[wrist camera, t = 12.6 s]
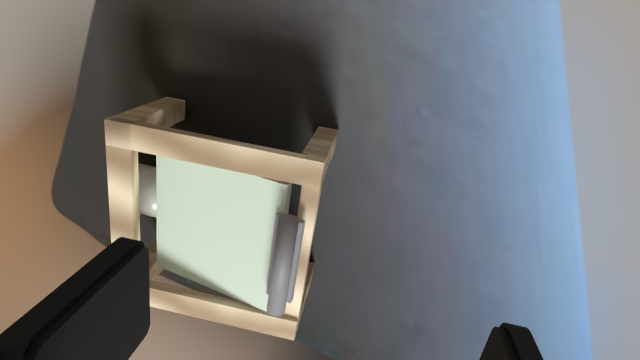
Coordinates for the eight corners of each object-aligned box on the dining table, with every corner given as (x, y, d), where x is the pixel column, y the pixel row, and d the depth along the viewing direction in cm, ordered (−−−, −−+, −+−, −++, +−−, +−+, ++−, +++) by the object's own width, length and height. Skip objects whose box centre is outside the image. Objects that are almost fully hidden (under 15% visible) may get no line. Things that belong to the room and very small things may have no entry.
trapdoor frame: (166, 96, 41) (104, 118, 32) (338, 129, 40) (324, 162, 31) (165, 244, 48) (114, 297, 39) (312, 277, 47) (294, 340, 38)
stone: (186, 163, 42) (141, 153, 43) (163, 200, 39) (114, 189, 39) (193, 195, 46) (152, 185, 47) (172, 231, 43) (128, 220, 43)
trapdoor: (164, 141, 37) (137, 150, 34) (314, 188, 32) (298, 203, 29) (163, 260, 42) (140, 276, 39) (294, 314, 37) (278, 337, 34)
